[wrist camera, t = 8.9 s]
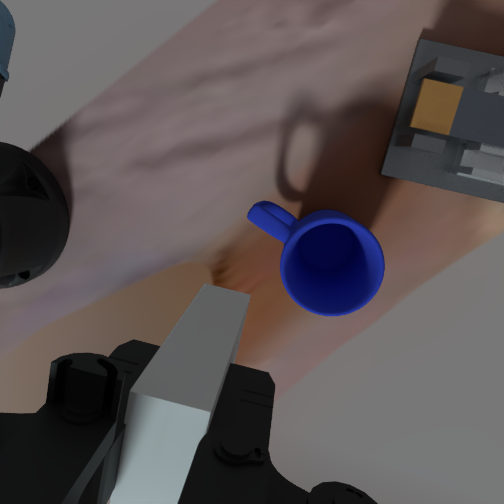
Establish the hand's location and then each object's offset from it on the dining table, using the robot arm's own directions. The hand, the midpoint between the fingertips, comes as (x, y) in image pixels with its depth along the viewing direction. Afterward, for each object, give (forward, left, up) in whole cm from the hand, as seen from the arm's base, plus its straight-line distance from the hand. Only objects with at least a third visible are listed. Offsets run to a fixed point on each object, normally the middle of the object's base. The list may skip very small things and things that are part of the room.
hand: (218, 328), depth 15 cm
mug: (+4, -2, -33) cm, 33 cm away
